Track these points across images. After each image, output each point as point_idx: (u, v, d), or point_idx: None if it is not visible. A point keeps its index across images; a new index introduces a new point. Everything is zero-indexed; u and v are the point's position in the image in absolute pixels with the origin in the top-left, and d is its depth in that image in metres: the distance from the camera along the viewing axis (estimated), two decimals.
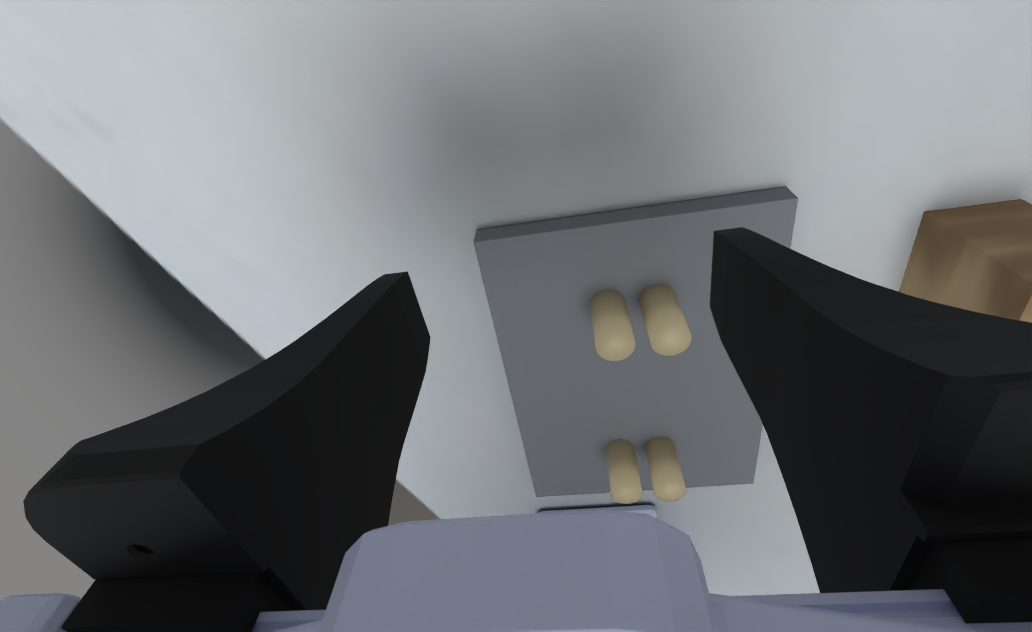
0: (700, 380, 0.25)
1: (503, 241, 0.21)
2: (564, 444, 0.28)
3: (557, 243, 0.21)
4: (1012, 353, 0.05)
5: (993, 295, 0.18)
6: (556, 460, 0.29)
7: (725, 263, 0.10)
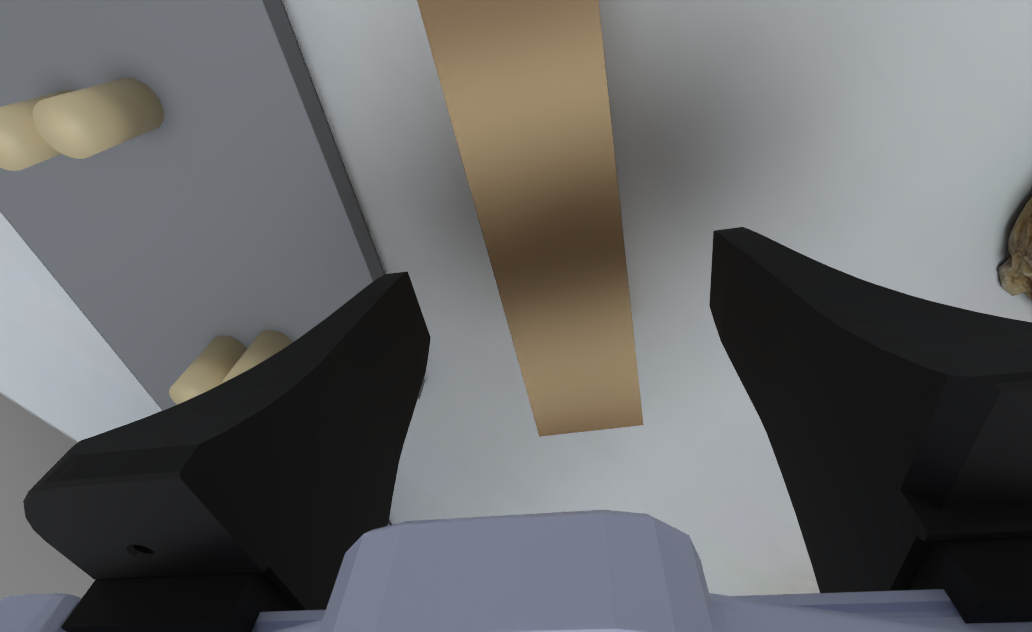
0: (269, 240, 0.19)
1: None
2: (159, 344, 0.22)
3: None
4: (1012, 353, 0.05)
5: None
6: (163, 369, 0.23)
7: (725, 263, 0.10)
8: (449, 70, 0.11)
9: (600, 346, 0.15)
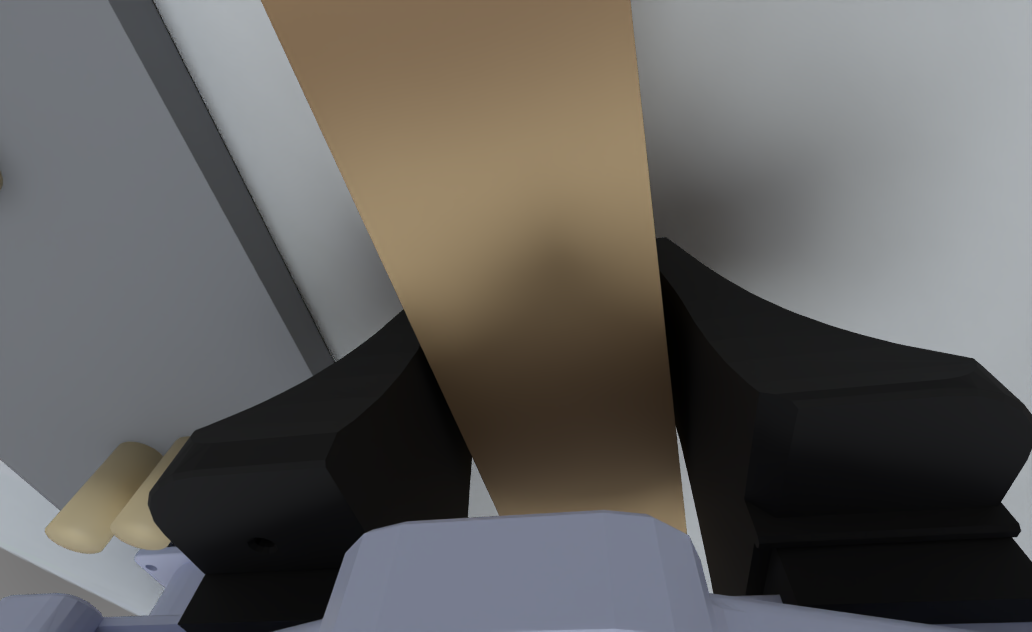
0: (174, 335, 0.14)
1: None
2: (51, 450, 0.17)
3: None
4: (832, 369, 0.05)
5: None
6: (62, 475, 0.18)
7: None
8: (359, 163, 0.06)
9: None
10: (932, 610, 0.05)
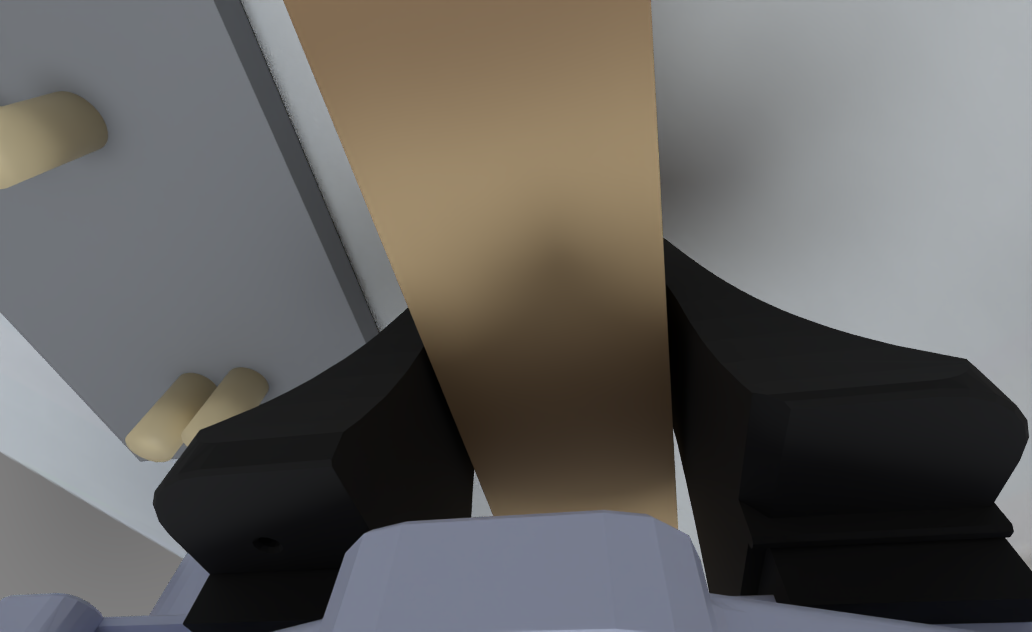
0: (236, 272, 0.17)
1: None
2: (120, 381, 0.20)
3: None
4: (826, 370, 0.05)
5: None
6: (127, 406, 0.21)
7: None
8: (368, 153, 0.06)
9: None
10: (925, 610, 0.05)
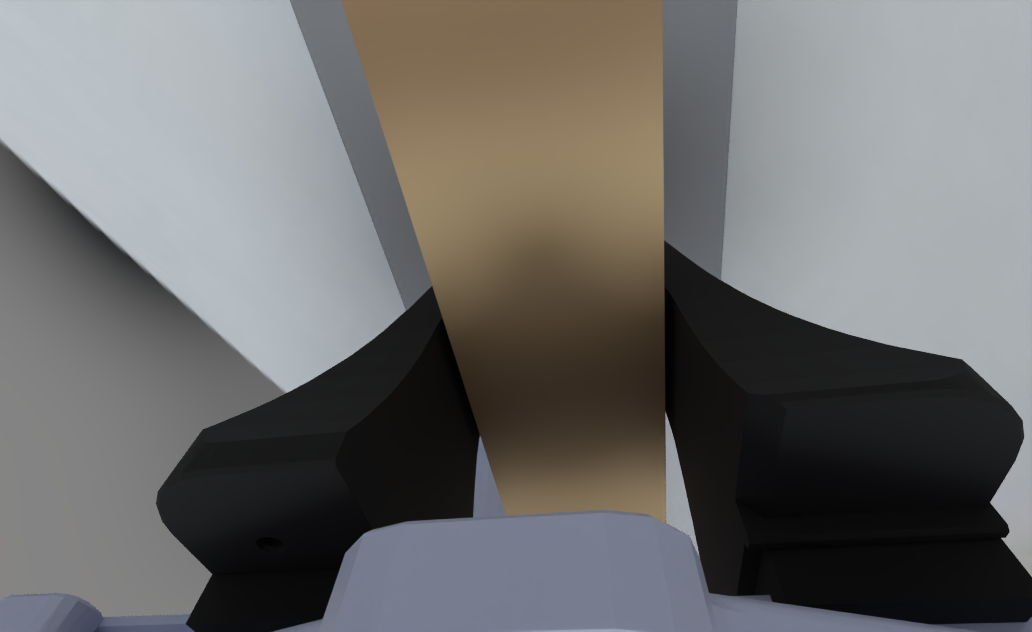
0: None
1: None
2: None
3: None
4: (822, 370, 0.05)
5: None
6: None
7: None
8: (409, 152, 0.07)
9: (619, 505, 0.11)
10: (921, 610, 0.05)
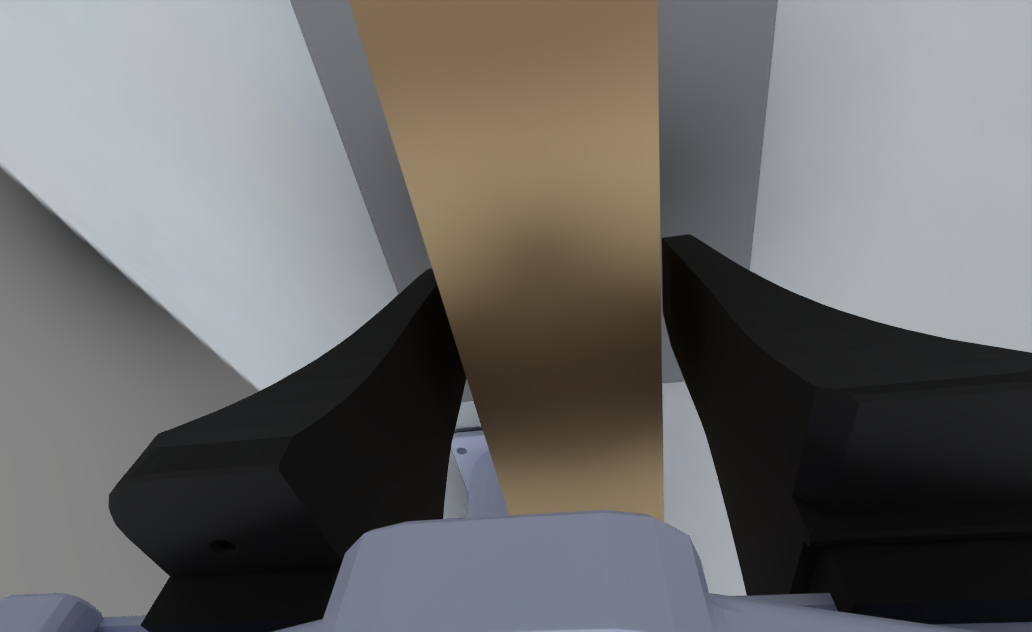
0: None
1: None
2: None
3: None
4: (887, 364, 0.05)
5: None
6: None
7: (670, 270, 0.10)
8: (413, 145, 0.07)
9: (617, 495, 0.11)
10: (991, 609, 0.05)
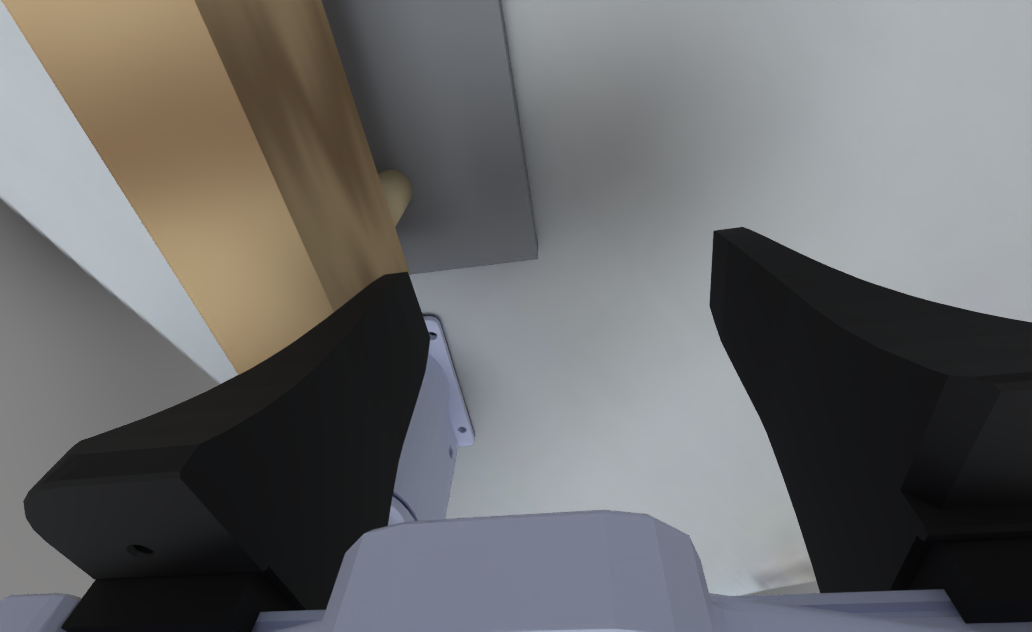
0: (409, 51, 0.17)
1: None
2: None
3: None
4: (1012, 353, 0.05)
5: None
6: None
7: (725, 263, 0.10)
8: None
9: (275, 271, 0.12)
10: None
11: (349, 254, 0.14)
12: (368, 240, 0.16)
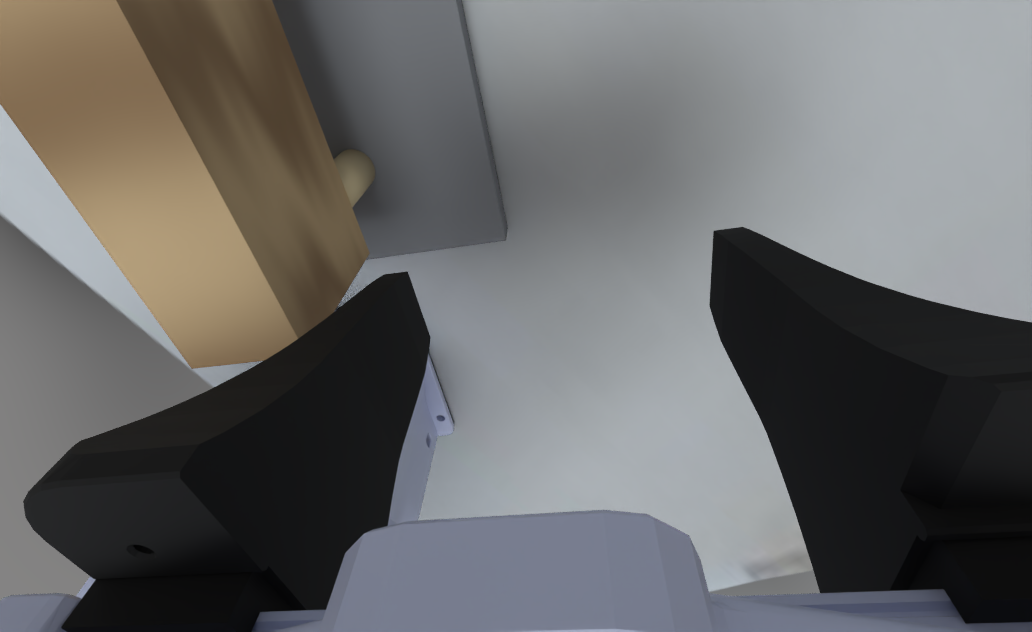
0: (362, 24, 0.17)
1: None
2: None
3: None
4: (1012, 353, 0.05)
5: None
6: None
7: (725, 263, 0.10)
8: None
9: (205, 243, 0.12)
10: None
11: (291, 228, 0.14)
12: (316, 216, 0.15)
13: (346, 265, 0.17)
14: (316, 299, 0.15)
